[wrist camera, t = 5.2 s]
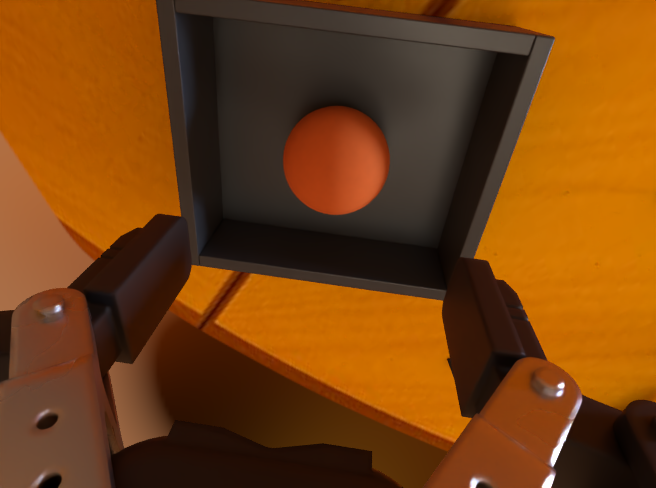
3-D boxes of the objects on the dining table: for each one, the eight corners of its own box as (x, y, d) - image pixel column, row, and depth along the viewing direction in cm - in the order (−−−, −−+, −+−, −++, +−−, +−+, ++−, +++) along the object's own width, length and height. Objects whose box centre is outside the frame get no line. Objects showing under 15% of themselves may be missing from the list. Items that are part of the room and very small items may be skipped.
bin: (215, 221, 25) (186, 264, 21) (200, -13, 18) (153, -13, 14) (444, 253, 24) (457, 303, 21) (517, 26, 18) (556, 36, 14)
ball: (290, 181, 22) (271, 226, 18) (295, 88, 19) (274, 115, 15) (379, 193, 22) (380, 241, 18) (396, 101, 19) (402, 132, 15)
